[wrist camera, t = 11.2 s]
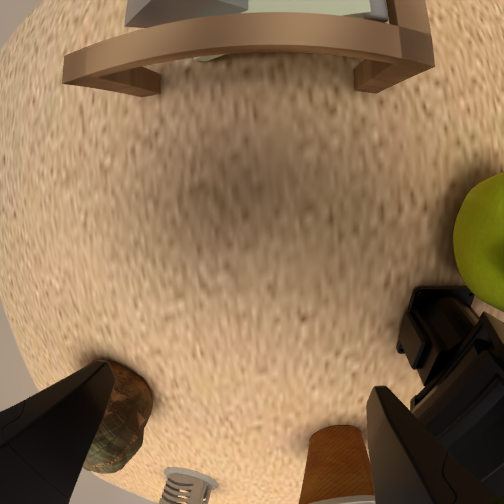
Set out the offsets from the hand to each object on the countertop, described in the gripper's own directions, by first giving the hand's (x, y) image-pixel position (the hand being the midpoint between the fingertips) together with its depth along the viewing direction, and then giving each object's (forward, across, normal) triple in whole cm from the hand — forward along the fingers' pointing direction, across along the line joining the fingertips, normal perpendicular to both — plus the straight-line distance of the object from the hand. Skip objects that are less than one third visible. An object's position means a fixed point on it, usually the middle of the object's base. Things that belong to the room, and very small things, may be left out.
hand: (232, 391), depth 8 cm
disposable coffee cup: (+13, -9, +24) cm, 29 cm away
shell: (+13, +17, +18) cm, 28 cm away
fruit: (+13, -17, -3) cm, 22 cm away
